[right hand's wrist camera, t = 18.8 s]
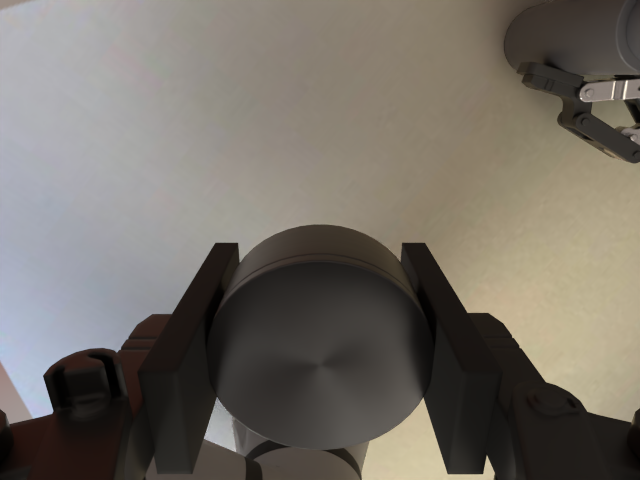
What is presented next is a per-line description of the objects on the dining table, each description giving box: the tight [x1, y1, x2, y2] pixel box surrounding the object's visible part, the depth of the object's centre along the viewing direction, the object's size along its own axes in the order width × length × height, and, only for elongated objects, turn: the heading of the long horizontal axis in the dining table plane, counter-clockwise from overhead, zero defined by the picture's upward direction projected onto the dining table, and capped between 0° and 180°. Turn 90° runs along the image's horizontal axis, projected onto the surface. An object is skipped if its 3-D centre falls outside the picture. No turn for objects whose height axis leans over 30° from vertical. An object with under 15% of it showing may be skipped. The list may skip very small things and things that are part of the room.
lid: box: [206, 225, 435, 450], centre depth 11 cm, size 6×6×2 cm
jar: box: [504, 0, 640, 75], centre depth 26 cm, size 5×5×16 cm
